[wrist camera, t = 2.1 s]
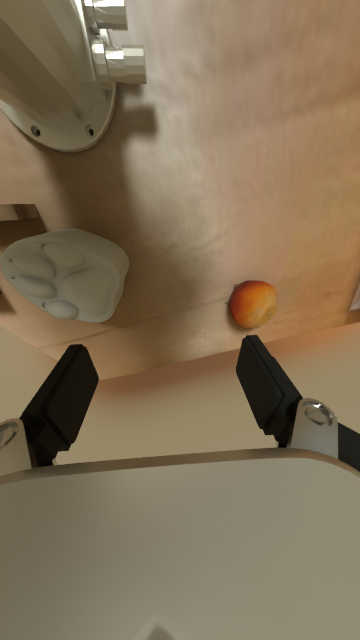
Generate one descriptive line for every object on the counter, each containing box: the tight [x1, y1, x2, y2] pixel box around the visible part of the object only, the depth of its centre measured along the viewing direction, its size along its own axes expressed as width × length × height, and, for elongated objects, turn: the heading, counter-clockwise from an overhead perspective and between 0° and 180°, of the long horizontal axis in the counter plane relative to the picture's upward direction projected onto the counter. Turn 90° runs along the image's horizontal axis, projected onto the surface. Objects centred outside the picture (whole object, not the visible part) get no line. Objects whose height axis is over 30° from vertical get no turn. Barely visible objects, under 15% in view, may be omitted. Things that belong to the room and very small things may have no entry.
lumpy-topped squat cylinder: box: [0, 228, 130, 323], centre depth 24 cm, size 10×13×9 cm
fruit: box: [225, 281, 278, 329], centre depth 30 cm, size 8×8×8 cm
